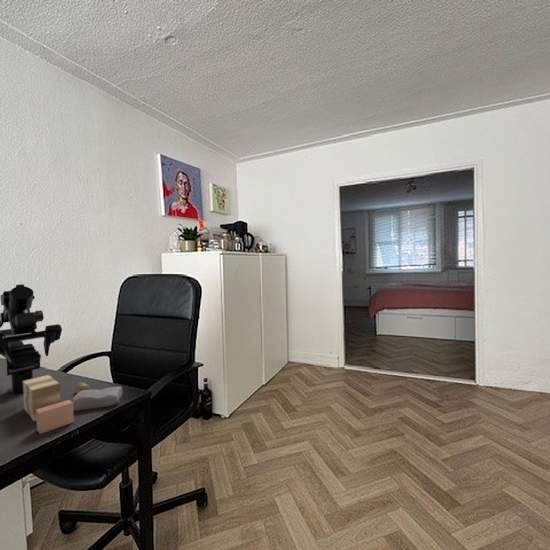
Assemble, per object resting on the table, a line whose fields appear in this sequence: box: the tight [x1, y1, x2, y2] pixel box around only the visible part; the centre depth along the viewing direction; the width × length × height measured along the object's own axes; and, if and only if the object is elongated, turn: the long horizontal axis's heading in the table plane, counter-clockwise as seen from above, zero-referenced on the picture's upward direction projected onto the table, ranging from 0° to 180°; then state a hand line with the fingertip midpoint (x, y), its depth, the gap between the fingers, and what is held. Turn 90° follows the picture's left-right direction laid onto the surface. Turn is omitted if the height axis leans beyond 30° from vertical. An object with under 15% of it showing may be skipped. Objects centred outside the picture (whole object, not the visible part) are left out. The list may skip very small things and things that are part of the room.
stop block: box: [35, 399, 75, 435], centre depth 76 cm, size 3×7×5 cm, turn 139°
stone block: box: [71, 385, 123, 412], centre depth 90 cm, size 12×5×10 cm
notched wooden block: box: [22, 374, 62, 422], centre depth 85 cm, size 12×6×8 cm, turn 49°
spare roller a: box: [75, 382, 92, 393], centre depth 97 cm, size 5×3×3 cm, turn 49°
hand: (30, 358), depth 93 cm, fingers open, 8 cm apart
